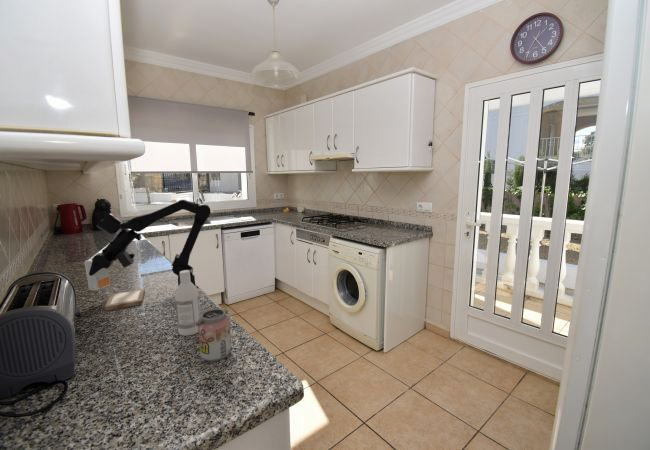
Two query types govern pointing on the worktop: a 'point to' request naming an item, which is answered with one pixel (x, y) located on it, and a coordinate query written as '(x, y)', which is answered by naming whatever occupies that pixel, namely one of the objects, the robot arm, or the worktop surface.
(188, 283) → the bath foam
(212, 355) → the beverage can
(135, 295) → the wooden picture frame
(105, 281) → the skincare box
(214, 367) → the worktop surface
